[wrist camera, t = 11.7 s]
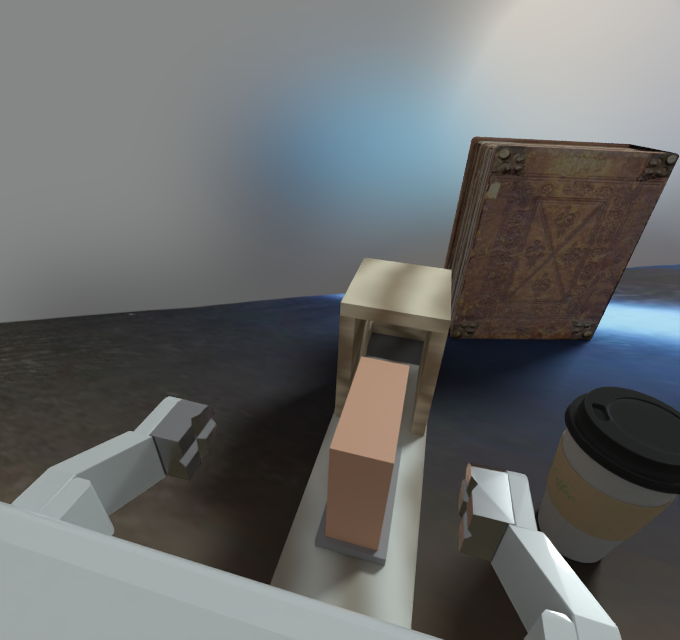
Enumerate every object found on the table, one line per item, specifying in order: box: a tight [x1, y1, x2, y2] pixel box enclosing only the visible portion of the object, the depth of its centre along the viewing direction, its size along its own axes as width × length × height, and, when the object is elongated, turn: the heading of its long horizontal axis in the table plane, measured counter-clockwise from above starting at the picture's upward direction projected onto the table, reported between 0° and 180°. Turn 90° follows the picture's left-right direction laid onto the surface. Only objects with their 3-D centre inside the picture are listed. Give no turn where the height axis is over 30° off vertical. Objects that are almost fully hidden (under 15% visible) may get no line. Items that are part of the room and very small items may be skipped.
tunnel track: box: [270, 258, 451, 629], centre depth 42 cm, size 11×44×18 cm, turn 166°
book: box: [444, 137, 679, 340], centre depth 61 cm, size 25×9×30 cm, turn 93°
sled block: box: [315, 356, 410, 566], centre depth 34 cm, size 6×12×12 cm, turn 166°
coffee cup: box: [538, 387, 680, 563], centre depth 33 cm, size 9×9×15 cm
